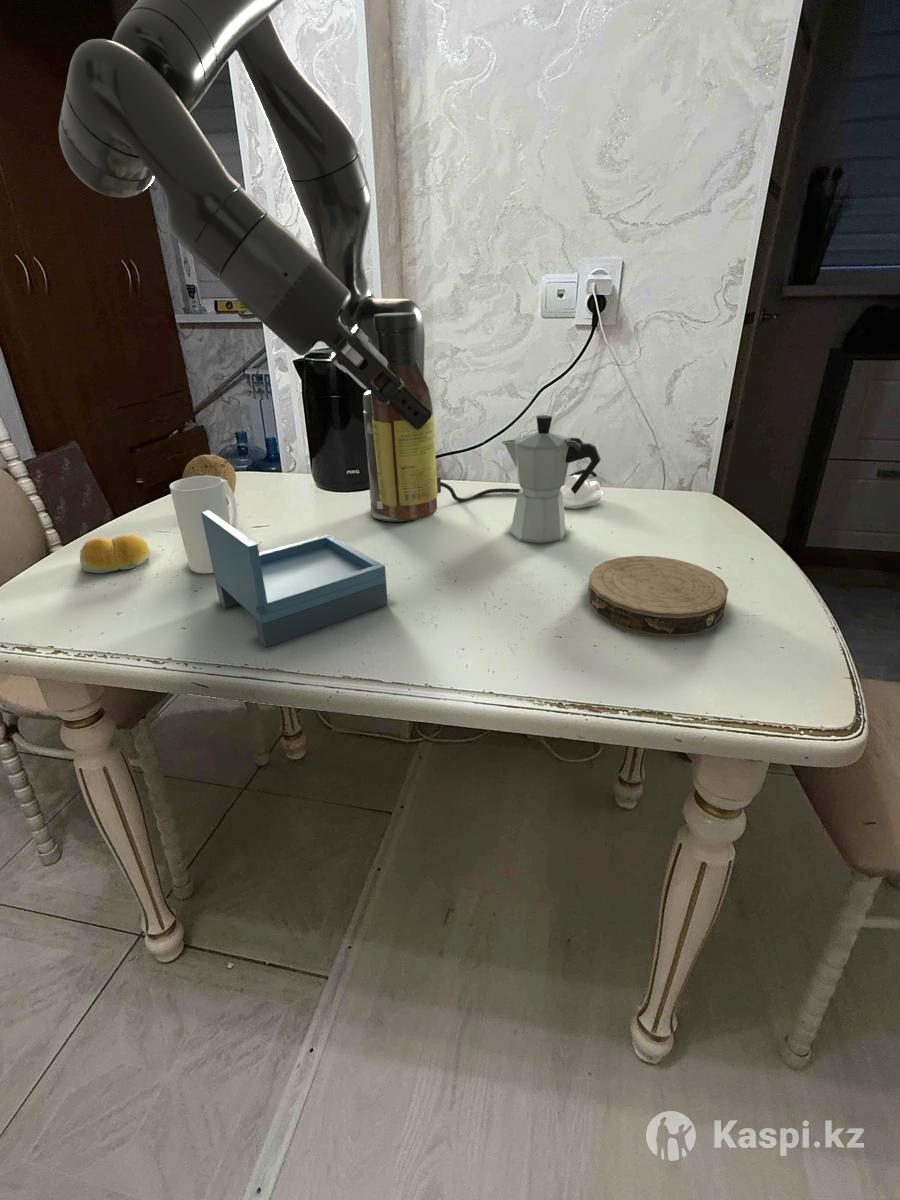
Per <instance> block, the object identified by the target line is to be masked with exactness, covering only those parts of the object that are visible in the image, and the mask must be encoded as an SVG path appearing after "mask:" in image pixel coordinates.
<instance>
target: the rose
mask: <svg viewBox="0 0 900 1200" xmlns="http://www.w3.org/2000/svg"><path fill="white" fill-rule="evenodd" d="M581 475H582V474H579V475H573V476H568V475H567V476H568V477H566V478H565V483H564V485H563V486H562V487H561V489H560V491H561V492H562V496H563V507H564V509H565V508H566V509H572V510H573V509H574V510H577V509H582V508H587V507H588V508H589V507H595V506H597V504H598V503H599V502H600V500H601V499H602V497H603V491H602V490H601V485H600V482H598V481H596V480H592V481H591V480H589V477H588V478H587V479H586V480H585V482H584V483H583V484H582V486H581V487H580V488H579V490H578V491H577V492H576V494H574V492H573V491H572V490H571V488H572V487H573V485H574V484H575V483H576V481H577V480H578V479H579V477H580V476H581Z"/></svg>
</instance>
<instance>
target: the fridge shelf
mask: <svg viewBox="0 0 900 1200" xmlns="http://www.w3.org/2000/svg"><path fill="white" fill-rule="evenodd" d="M201 515H202V520H203V524H204V529H205V534H206V539H207V544H208V548H209V553H210V558H211V563H212V568H213V573H212V574H213V576H214V581H215V587H216V591H217V596H218V601H219V603H220V605H221V606H222V607H223V608H225V609H228V608H232V607H235V606H238V605H240V606H242V607H243V608H244V609H245V610H246V611H247V612H248V613H249V614H250V615H252V616H253V617H254V623H255V627H256V632H257V638H258V641H259V642H260V643H261V644H262V646H263V647H265V648H269V647H272V646H275V645H277V644H278V645H279V644H281V643H283V642H286V641H289V640H291V639H294V638H298V637H300V636H304V635H306V634H309V633H311V632H314V631H317V630H319V629H322V628H325V627H328V626H331V625H334V624H337V623H339V622H342V621H345V620H347V619H350V618H353V617H356V616H359V615H361V614H364V613H368V612H369V611H374V610H376V609H378V608H381V607H383V606H386V605H388V604H389V603H388V589H387V576H386V566H385V565H384V564H382V563H380V562H378V561H377V560H375V559H374V558H372V557H370V556H368V555H366V554H365V553H363V552H361V551H359V550H357V549H355V548H354V547H352V546H351V545H348V544H347V543H345V542H344V541H342V540H340V539H338V538H337V537H335V536H333V535H332V534H330V533H326V534H323V535H319V536H316V537H315V536H314V537H312V538H307V539H304V540H300V541H297V542H293V543H289V544H286V545H282V546H278V547H275V548H271V549H268V550H263V551H260V552H259V545H258V543H256V542H254V540H252V539H250V537H248V536H246V535H245V534H244V533H242V532H241V531H239V530H238V529H237V528H236V529H235V528H234V527H232V526H231V525H229V524H228V523H227V522H225V521H224V520H222V519H221V518H220V517H218V516H217V515H215V514H214V513H212V512H211V511H210V510H207V511H203V512H201Z"/></svg>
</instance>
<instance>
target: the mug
mask: <svg viewBox="0 0 900 1200" xmlns="http://www.w3.org/2000/svg"><path fill="white" fill-rule="evenodd" d="M168 487H169V489H170V494H171V499H172V503H173V508H174V511H175V514H176V515H175V516H176V519H177V523H178V527H179V531H180V535H181V539H182V542H183V547H184V551H185V554H186V558H187V562H188V564H189V565H188V566H189V569H190V570H191V571H192V572H194V573H197V574H205V575H206V574H214V573H213V568H212V563H211V558H210V553H209V548H208V544H207V539H206V534H205V529H204V524H203V520H202V515H201V512H203V511H207V510H210V511H211V512H212V513H214V514H215V515H217V516H218V517H220V518H221V519H222V520H224V521H225V522H227V523H228V524H229V525H231V526H232V527H234V528H235V529H236V530H237V528H238V527H237V526H238V525H237V524H238V507H237V501H236V497H235V493H234V494H233V492H232V490H231V488H230V487H229V485H228V481H227V480H223V479H222V478H220V477H216V476H195V477H189V478H184V479H182V478H181V479H178V480H175V481H173V482H171V483H170V484H169V486H168ZM226 497H227V500H228V503H229V505H228V506H227V501H226Z"/></svg>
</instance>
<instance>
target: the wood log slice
mask: <svg viewBox="0 0 900 1200" xmlns="http://www.w3.org/2000/svg"><path fill="white" fill-rule="evenodd" d="M592 569H593V570H592V571H591V572H590V574H589V581H588V593H587V600H588V606H589V607H590V609H591V611H593V613H594V614H595V615H596V616H597V617H599V618H600V619H602V620H604V621H605V622H607V623H608V624H610V625H612V626H615V627H616V628H620V629H623V630H625V631H628V632H631V633H635V634H640V635H644V636H650V637H657V638H658V637H659V638H684V637H693V636H698V635H702V634H704V633H707V632H710V631H712V630H714V629H715V628H716V627H718V626H719V625H720V624H721V623H722V622H723V618H724V615H725V608H726V605H727V599H728V593H729V588H728V586H727V584H726V583H725V581H724V580H723V579H722V578H721V577H719V576H718V575H717V574H715V573H714V572H712V571H710V570H708V569H706V568H704V567H701V566H700V565H697V564H695V563H691V562H687V561H684V560H680V559H676V558H668V557H663V556H656V555H655V556H654V555H653V556H651V555H650V556H649V555H632V556H622V557H621V556H619V557H616V558H612V559H609V560H605V561H604V562H601V563H599V564H598V565H596V566H594V568H592Z"/></svg>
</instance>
